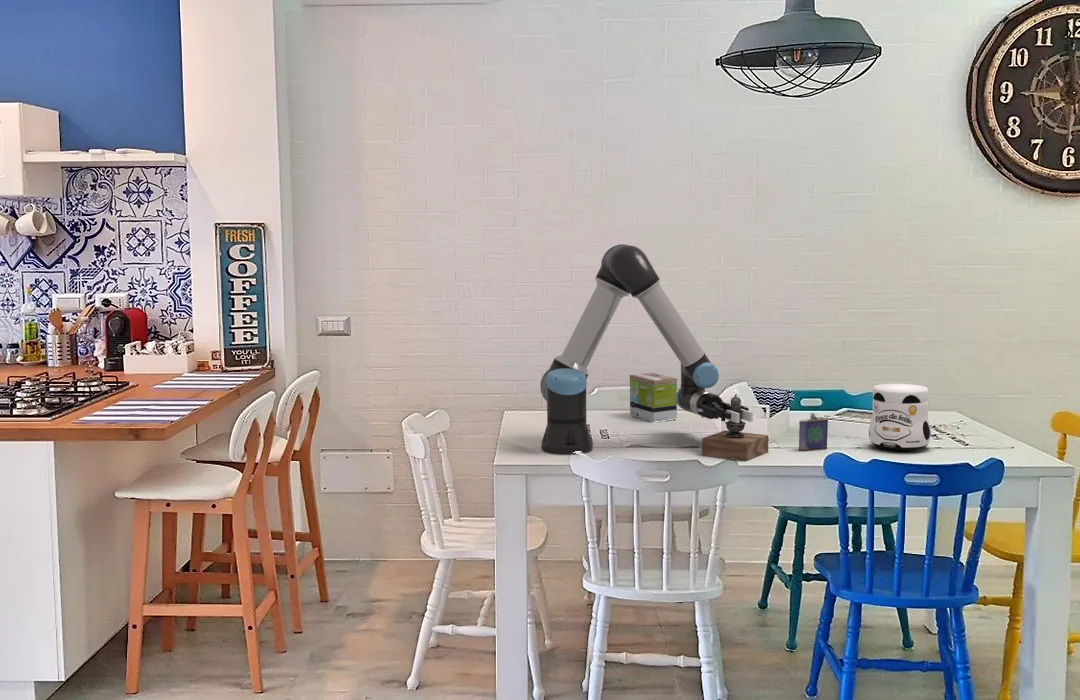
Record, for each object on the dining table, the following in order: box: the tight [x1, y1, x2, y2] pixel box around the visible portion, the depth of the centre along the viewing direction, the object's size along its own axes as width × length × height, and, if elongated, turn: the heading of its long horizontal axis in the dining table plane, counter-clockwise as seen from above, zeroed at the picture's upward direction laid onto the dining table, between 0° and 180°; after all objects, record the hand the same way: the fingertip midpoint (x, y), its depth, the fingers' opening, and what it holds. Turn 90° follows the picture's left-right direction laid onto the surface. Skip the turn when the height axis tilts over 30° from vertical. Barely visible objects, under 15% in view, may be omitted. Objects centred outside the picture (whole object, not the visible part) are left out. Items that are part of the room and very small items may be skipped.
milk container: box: [868, 383, 932, 451], centre depth 325 cm, size 17×17×18 cm
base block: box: [701, 429, 769, 462], centre depth 320 cm, size 14×14×5 cm
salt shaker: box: [724, 394, 747, 437], centre depth 319 cm, size 6×6×12 cm
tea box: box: [629, 372, 678, 423], centre depth 378 cm, size 15×10×15 cm, turn 28°
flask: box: [798, 412, 829, 452], centre depth 324 cm, size 9×3×11 cm, turn 109°
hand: (744, 417), depth 314 cm, fingers closed on salt shaker, 3 cm apart
